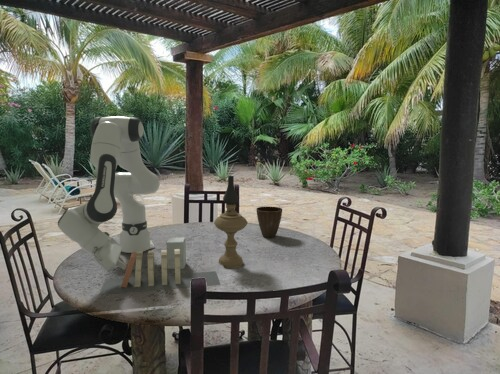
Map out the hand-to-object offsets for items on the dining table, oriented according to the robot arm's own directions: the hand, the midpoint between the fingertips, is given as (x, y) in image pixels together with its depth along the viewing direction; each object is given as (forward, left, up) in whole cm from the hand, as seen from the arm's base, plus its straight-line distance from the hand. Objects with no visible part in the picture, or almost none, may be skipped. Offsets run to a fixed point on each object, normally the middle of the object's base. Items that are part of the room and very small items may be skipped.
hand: (125, 267), depth 138 cm
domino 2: (0, +4, -7) cm, 8 cm away
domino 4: (0, +14, -7) cm, 16 cm away
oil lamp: (-17, +43, -8) cm, 47 cm away
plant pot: (-57, +72, -8) cm, 92 cm away
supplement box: (-17, +19, -8) cm, 27 cm away
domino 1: (0, -1, -7) cm, 7 cm away
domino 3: (0, +9, -7) cm, 12 cm away
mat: (0, +13, -8) cm, 15 cm away
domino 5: (0, +19, -7) cm, 21 cm away
